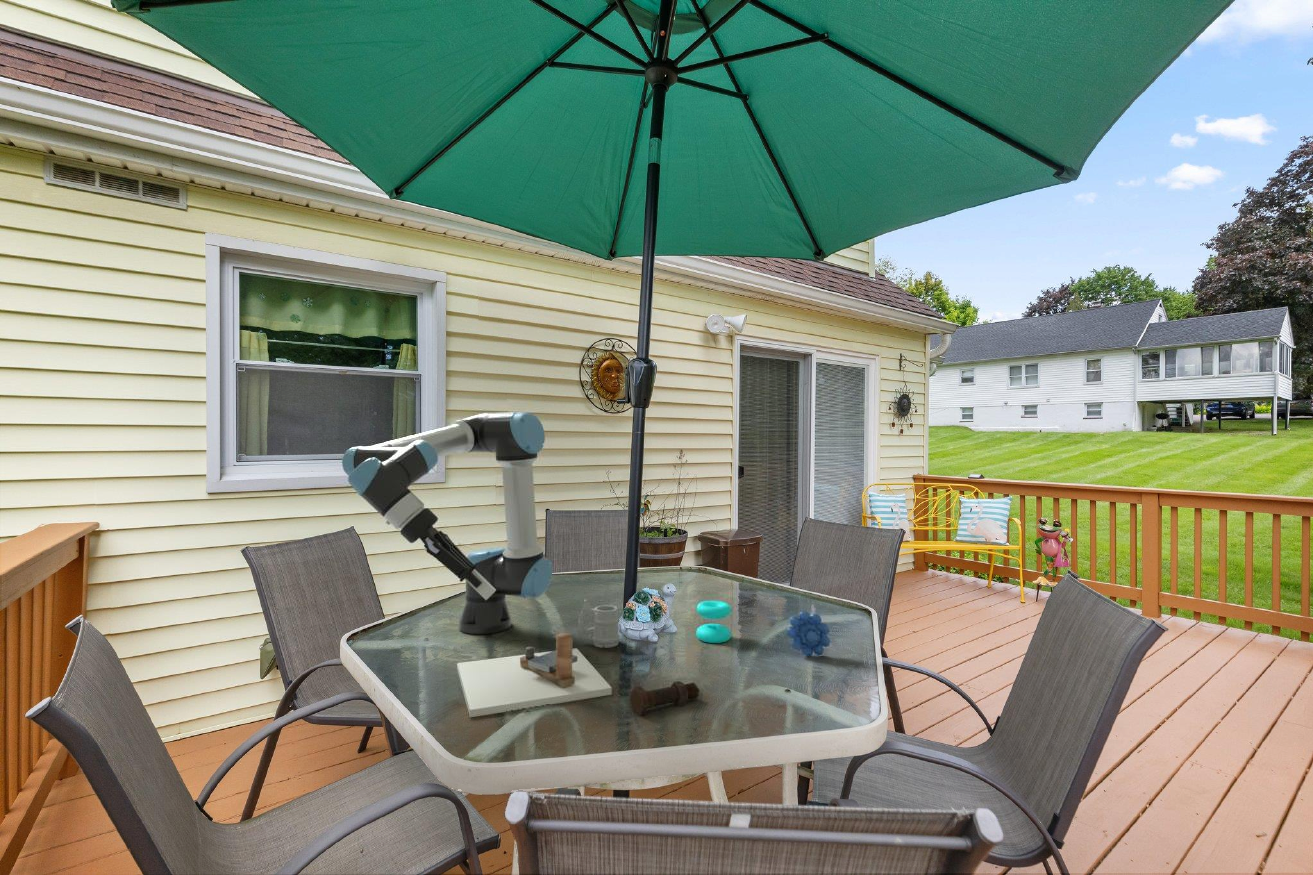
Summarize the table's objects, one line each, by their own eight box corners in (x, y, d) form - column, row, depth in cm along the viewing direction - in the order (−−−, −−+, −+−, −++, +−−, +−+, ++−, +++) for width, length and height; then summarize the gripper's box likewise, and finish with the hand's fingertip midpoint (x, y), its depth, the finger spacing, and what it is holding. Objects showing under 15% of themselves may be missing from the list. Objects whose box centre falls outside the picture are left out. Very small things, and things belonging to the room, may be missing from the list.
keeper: (556, 670, 145) (556, 649, 145) (577, 677, 141) (577, 656, 141) (527, 681, 138) (528, 660, 138) (548, 689, 134) (549, 667, 134)
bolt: (697, 708, 129) (636, 721, 122) (686, 690, 133) (627, 701, 125) (706, 689, 127) (644, 701, 119) (694, 671, 131) (634, 681, 123)
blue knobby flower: (792, 662, 152) (792, 615, 153) (784, 653, 159) (784, 608, 159) (836, 661, 154) (836, 615, 154) (826, 652, 160) (826, 608, 160)
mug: (617, 648, 161) (618, 604, 162) (574, 647, 162) (575, 603, 162) (621, 639, 169) (622, 597, 169) (580, 638, 170) (580, 596, 170)
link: (516, 663, 144) (517, 620, 144) (533, 659, 147) (533, 617, 147) (560, 688, 130) (561, 639, 130) (577, 683, 133) (577, 635, 133)
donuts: (694, 607, 167) (698, 598, 177) (694, 643, 167) (698, 632, 177) (730, 609, 165) (732, 600, 175) (730, 645, 165) (731, 634, 175)
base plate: (457, 669, 145) (457, 663, 145) (576, 653, 157) (576, 648, 157) (469, 717, 119) (469, 709, 119) (611, 694, 131) (611, 687, 131)
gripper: (406, 527, 134) (481, 599, 136) (390, 535, 121) (474, 615, 123) (431, 503, 135) (506, 576, 137) (418, 509, 122) (501, 589, 124)
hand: (491, 594), depth 130 cm, fingers closed
